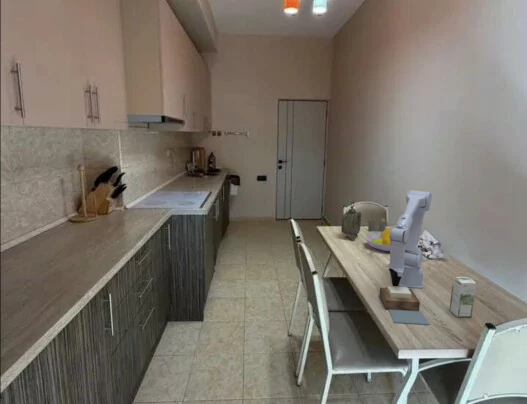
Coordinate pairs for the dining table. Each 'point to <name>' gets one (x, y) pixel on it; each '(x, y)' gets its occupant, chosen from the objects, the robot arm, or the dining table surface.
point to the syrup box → (462, 296)
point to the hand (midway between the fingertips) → (395, 285)
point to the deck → (399, 301)
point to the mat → (408, 317)
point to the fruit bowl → (380, 240)
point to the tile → (399, 292)
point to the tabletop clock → (351, 222)
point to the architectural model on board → (377, 225)
